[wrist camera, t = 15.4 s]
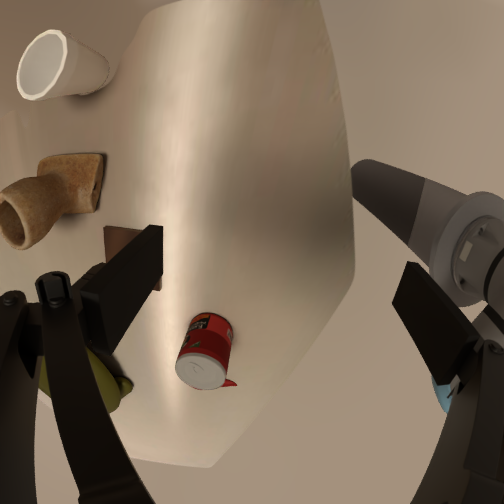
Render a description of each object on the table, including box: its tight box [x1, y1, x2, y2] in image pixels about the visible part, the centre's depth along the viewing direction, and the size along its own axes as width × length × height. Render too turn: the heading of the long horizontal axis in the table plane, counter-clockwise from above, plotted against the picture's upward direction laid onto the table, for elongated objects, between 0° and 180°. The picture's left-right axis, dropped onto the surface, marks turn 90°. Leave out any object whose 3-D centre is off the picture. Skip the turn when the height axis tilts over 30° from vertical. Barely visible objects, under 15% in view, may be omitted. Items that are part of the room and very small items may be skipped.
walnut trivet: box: [103, 226, 161, 291], centre depth 44 cm, size 10×10×1 cm
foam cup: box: [17, 30, 109, 101], centre depth 27 cm, size 10×9×13 cm
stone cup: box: [0, 154, 103, 250], centre depth 34 cm, size 15×12×15 cm
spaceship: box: [38, 347, 133, 413], centre depth 54 cm, size 35×31×10 cm
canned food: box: [175, 313, 233, 390], centre depth 45 cm, size 8×8×11 cm
